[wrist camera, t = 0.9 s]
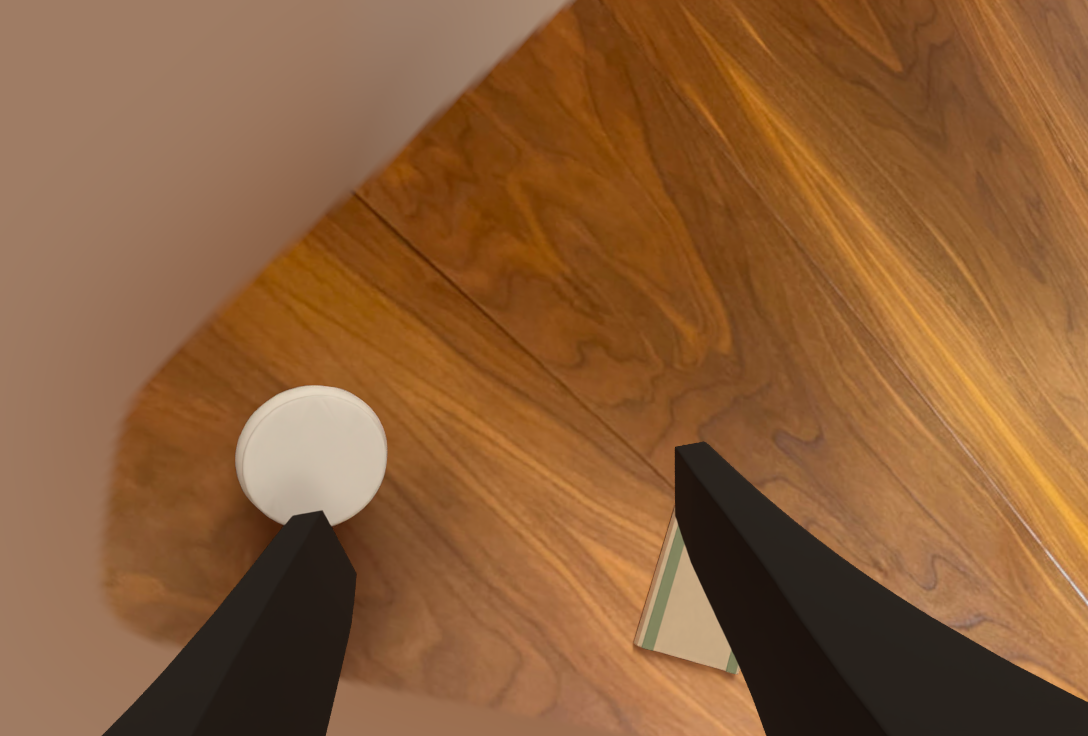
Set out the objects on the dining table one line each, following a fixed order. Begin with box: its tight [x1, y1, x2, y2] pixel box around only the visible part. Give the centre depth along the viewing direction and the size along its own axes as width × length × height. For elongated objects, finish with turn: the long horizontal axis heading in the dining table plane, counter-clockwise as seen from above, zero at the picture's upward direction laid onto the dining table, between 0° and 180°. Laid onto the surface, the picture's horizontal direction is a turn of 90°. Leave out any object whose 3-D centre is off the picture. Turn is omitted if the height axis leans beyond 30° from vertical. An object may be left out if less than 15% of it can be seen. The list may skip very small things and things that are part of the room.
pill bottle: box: [235, 386, 387, 526], centre depth 19 cm, size 5×5×8 cm
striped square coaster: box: [634, 508, 740, 674], centre depth 31 cm, size 8×8×1 cm
